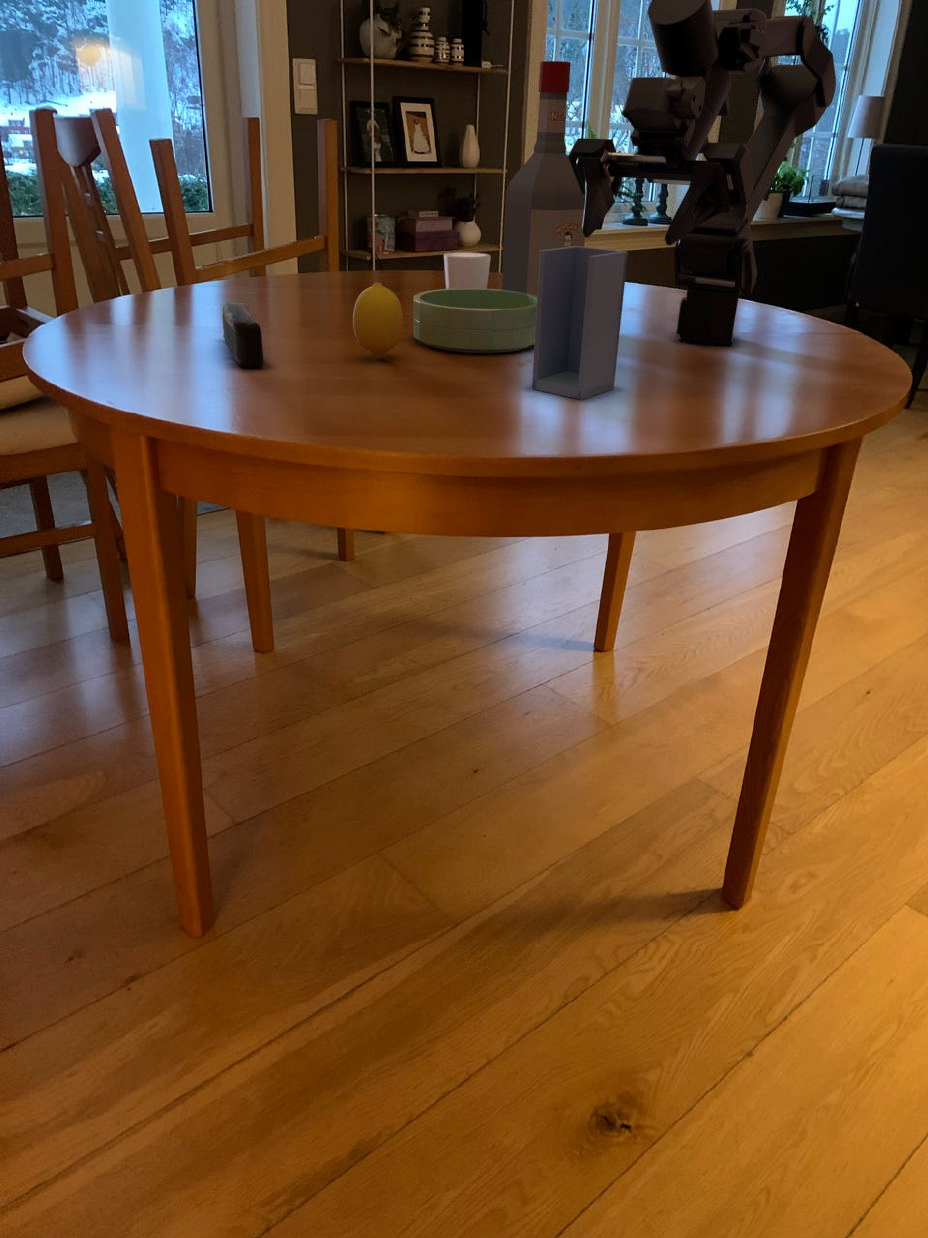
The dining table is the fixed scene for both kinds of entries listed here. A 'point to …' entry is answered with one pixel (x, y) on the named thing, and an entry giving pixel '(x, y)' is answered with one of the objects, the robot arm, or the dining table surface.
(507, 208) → the liquor
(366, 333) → the lemon
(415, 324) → the bowl
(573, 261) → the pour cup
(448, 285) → the white cup
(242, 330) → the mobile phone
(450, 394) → the dining table surface
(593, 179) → the robot arm
